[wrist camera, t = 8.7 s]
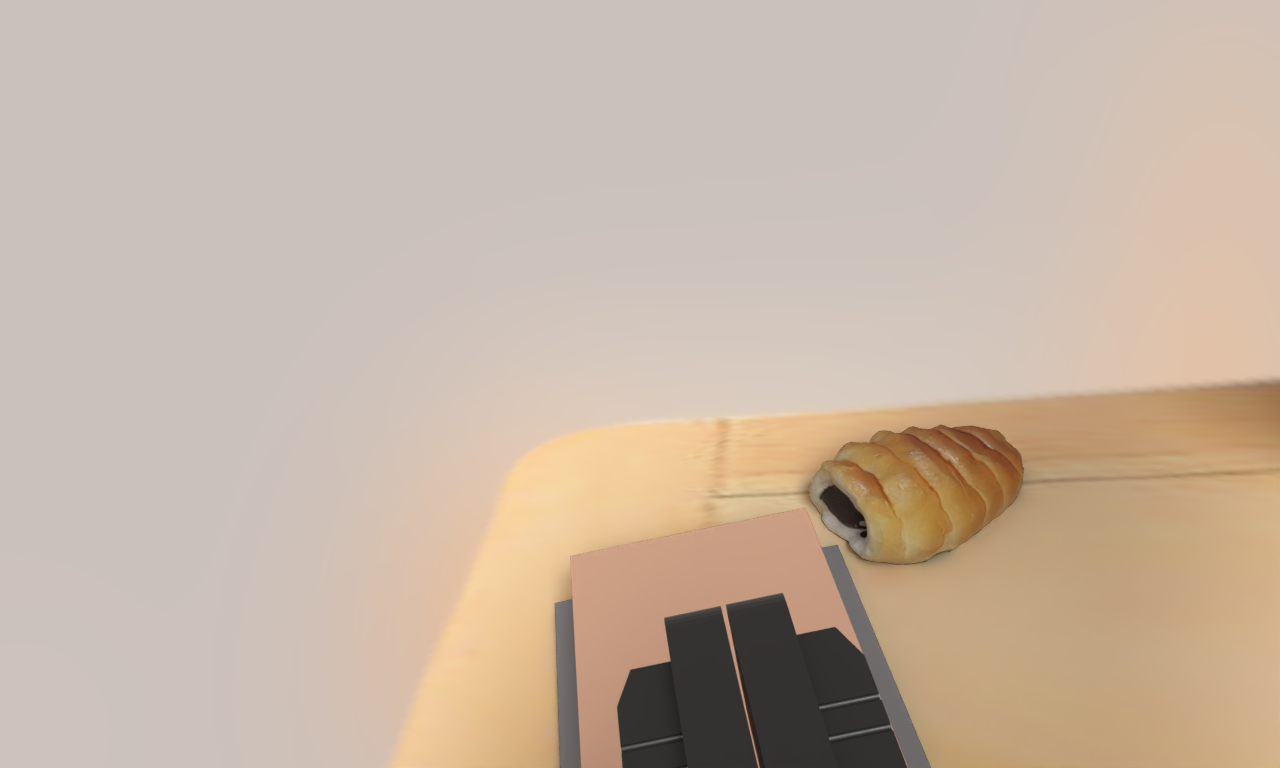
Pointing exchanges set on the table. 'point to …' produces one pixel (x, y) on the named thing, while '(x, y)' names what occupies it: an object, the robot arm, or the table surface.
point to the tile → (685, 604)
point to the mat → (862, 629)
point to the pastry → (916, 490)
